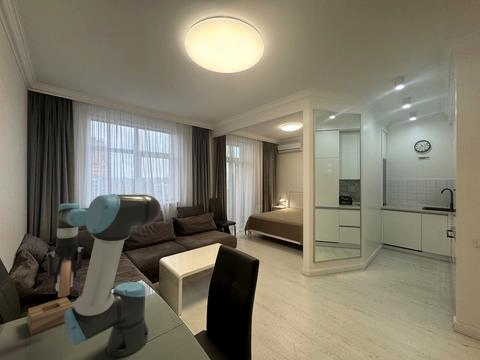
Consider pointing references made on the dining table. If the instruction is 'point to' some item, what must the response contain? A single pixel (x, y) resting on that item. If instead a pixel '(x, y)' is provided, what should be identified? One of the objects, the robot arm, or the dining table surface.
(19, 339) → the dining table surface
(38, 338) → the dining table surface
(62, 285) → the peg
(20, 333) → the dining table surface
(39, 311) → the socket block
